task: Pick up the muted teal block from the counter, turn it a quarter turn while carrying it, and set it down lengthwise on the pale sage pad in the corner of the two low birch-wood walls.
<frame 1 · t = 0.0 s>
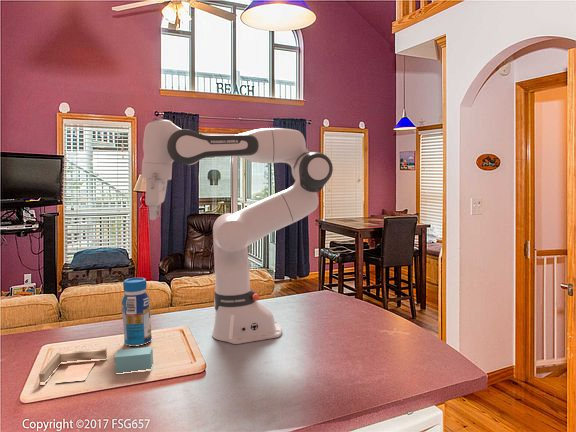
hand: (154, 218, 136), 39 cm above the kitchen counter, fingers open, 8 cm apart
beverage bottle: (138, 343, 138), on the kitchen counter
teal block: (134, 369, 119), on the kitchen counter
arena: (76, 373, 117), on the kitchen counter
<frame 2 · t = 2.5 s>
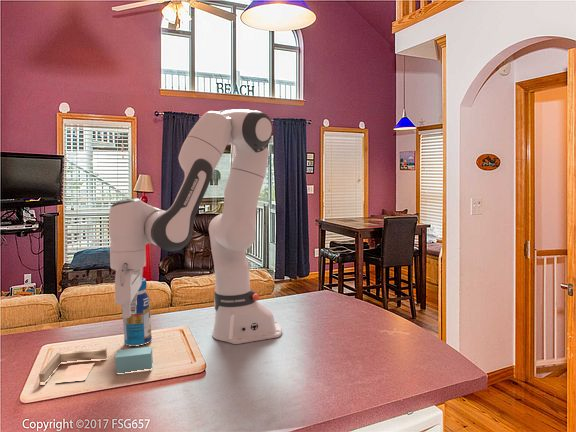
hand: (130, 311, 117), 16 cm above the kitchen counter, fingers open, 8 cm apart
nothing on the kitchen counter moved.
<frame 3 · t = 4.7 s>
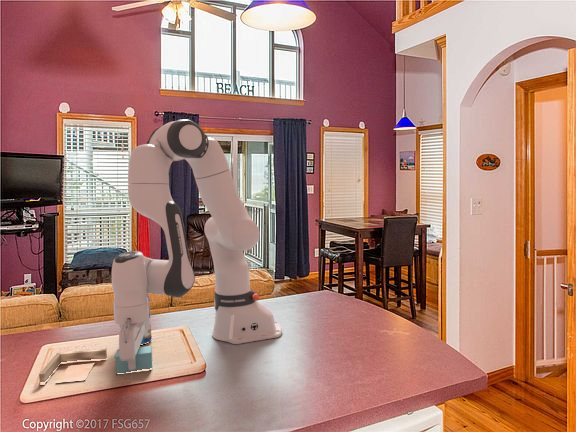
hand: (134, 363, 119), 2 cm above the kitchen counter, fingers closed on teal block, 5 cm apart
teal block: (134, 369, 119), on the kitchen counter, touching gripper
everything else where it was.
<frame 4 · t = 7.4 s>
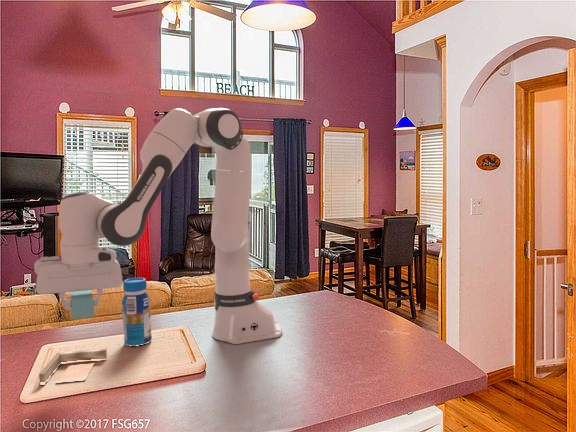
hand: (82, 307, 115), 18 cm above the kitchen counter, fingers closed on teal block, 5 cm apart
teal block: (82, 313, 115), point 16 cm above the kitchen counter, touching gripper
everything else where it was.
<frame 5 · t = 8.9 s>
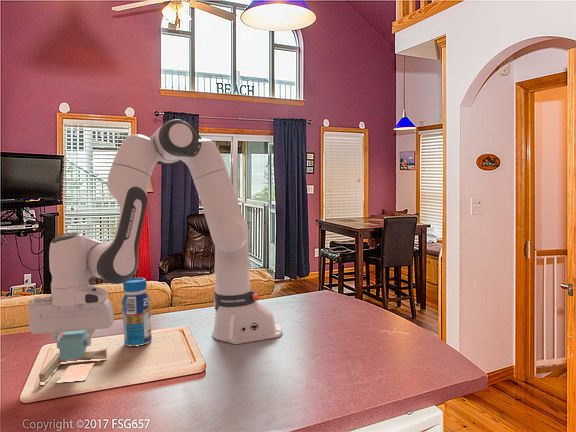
hand: (74, 346, 117), 7 cm above the kitchen counter, fingers closed on teal block, 5 cm apart
teal block: (74, 352, 117), point 6 cm above the kitchen counter, touching gripper
everything else where it was.
when the fingers open (3 cm above the kitchen counter, at t = 10.2 s): teal block drops 1 cm, resting on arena.
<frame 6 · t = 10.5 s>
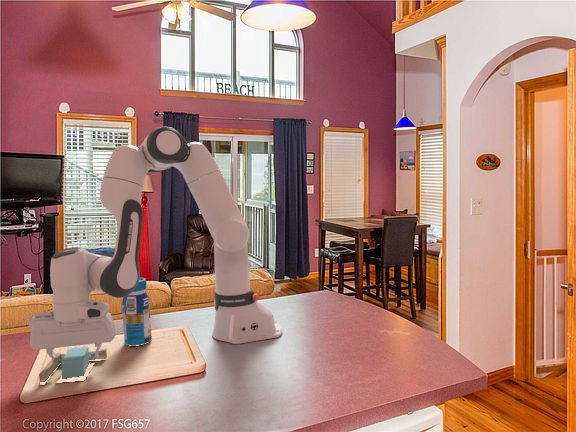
hand: (75, 360, 117), 3 cm above the kitchen counter, fingers open, 8 cm apart
teal block: (76, 372, 117), resting on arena
everything else where it was.
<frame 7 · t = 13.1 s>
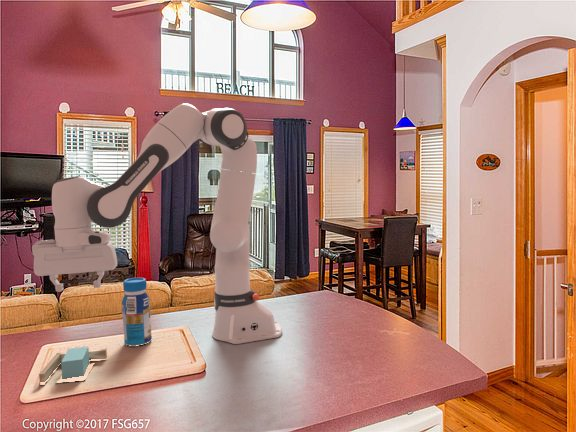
hand: (78, 289, 118), 22 cm above the kitchen counter, fingers open, 8 cm apart
nothing on the kitchen counter moved.
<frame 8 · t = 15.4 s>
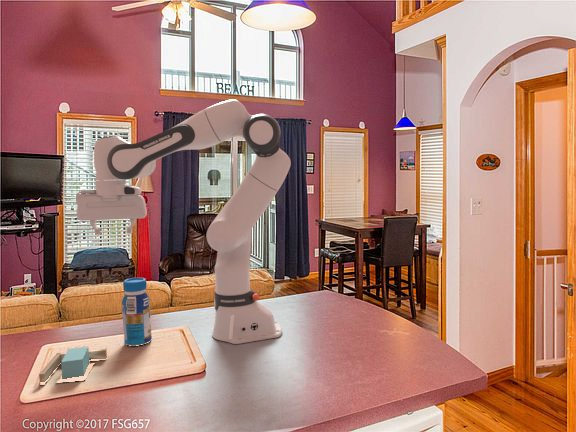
hand: (113, 233, 138), 34 cm above the kitchen counter, fingers open, 8 cm apart
nothing on the kitchen counter moved.
at the end: teal block 0.1 cm off-centre on the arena, point 0.3 cm above the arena's base; teal block tilted 0°; the gripper is holding nothing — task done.
